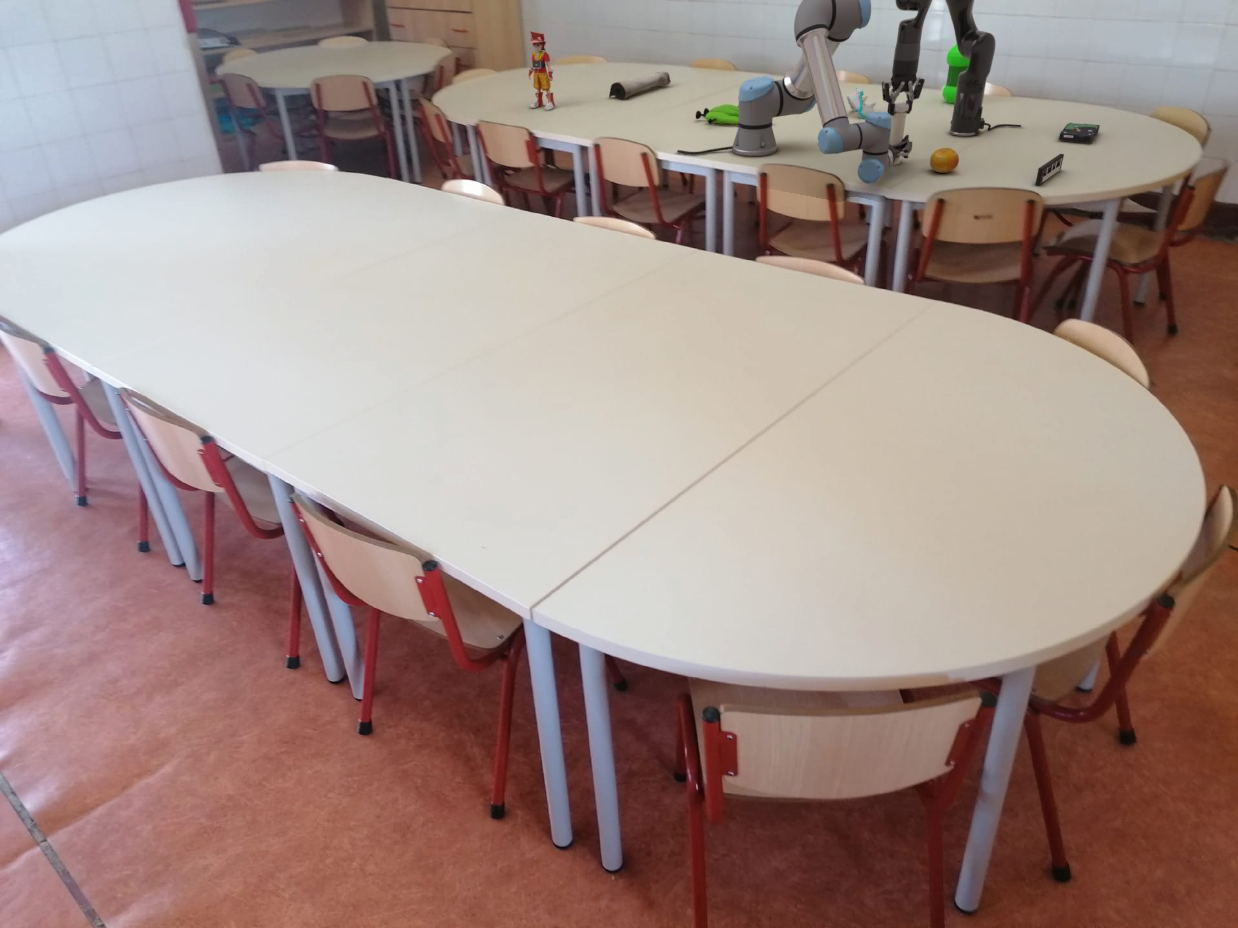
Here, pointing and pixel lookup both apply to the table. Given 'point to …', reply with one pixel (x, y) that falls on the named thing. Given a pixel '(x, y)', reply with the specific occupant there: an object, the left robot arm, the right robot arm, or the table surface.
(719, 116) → the toy
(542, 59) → the toy
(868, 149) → the left robot arm
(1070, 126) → the disk drive
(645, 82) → the rolled mat
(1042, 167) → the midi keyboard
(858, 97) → the anatomical model
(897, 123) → the beige plastic cylinder
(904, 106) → the lid
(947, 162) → the fruit
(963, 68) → the plastic bottle
